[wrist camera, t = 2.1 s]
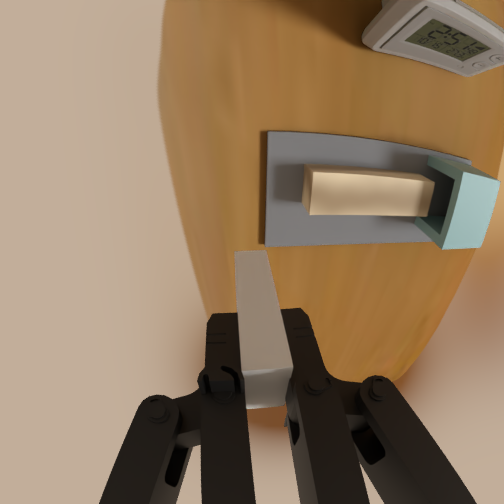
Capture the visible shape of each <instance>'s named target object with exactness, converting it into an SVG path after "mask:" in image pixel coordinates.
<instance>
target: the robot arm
mask: <svg viewBox="0 0 504 504" xmlns="http://www.w3.org/2000/svg"><path fill="white" fill-rule="evenodd" d="M234 252H235V278H236V301H237V313H215V314H212V315H211V317H210V319H209V320H208V322H207V330H206V331H207V332H206V352H205V368H204V369H203V370H202V371H201V372H200V373H199V376H198V380H197V382H198V385H199V388H198V390H196V391H195V392H193V393H191V394H189V395H186V396H183V397H179V398H175V399H171V398H169V397H167V396H165V395H153V396H149V397H148V398H146V399H145V400H143V401H142V403H141V404H140V406H139V407H138V409H137V411H136V414H135V416H134V419H133V421H132V423H131V425H130V428H129V430H128V432H127V435H126V437H125V439H124V442H123V444H122V446H121V449H120V451H119V454H118V456H117V459H116V461H115V464H114V466H113V469H112V471H111V474H110V476H109V479H108V481H107V484H106V487H105V489H104V492H103V494H102V497H101V500H100V502H99V504H176V501H177V498H178V495H179V492H180V488H181V485H182V482H183V478H184V475H185V472H186V468H187V465H188V462H189V459H190V455H191V452H192V448H193V447H194V446H197V445H201V493H202V504H256V500H255V492H254V482H253V472H252V463H251V453H250V443H249V432H248V421H247V410H246V409H253V408H266V407H276V406H284V405H285V401H286V405H287V415H286V418H285V423H284V427H286V426H288V432H289V438H290V444H291V450H292V456H293V462H294V468H295V474H296V480H297V485H298V491H299V498H300V503H301V504H370V503H369V498H368V494H367V491H366V486H365V482H364V478H363V475H362V471H361V467H360V464H361V465H362V467H363V468H364V470H365V472H366V474H367V475H368V477H369V479H370V480H371V482H372V484H373V485H374V487H375V489H376V490H377V492H378V494H379V495H380V497H381V499H382V500H383V502H384V504H477V503H476V502H475V500H474V499H473V497H472V495H471V494H470V492H469V491H468V489H467V488H466V486H465V485H464V483H463V482H462V480H461V478H460V477H459V475H458V474H457V472H456V471H455V470H454V468H453V467H452V465H451V463H450V462H449V461H448V459H447V458H446V456H445V455H444V453H443V452H442V450H441V449H440V447H439V446H438V445H437V443H436V442H435V440H434V439H433V438H432V436H431V435H430V433H429V432H428V430H427V429H426V428H425V426H424V425H423V423H422V422H421V421H420V419H419V418H418V416H417V415H416V414H415V412H414V411H413V410H412V408H411V407H410V406H409V404H408V403H407V401H406V400H405V399H404V397H403V396H402V395H401V393H400V392H399V391H398V389H397V388H396V387H395V385H394V384H393V383H392V382H391V381H390V380H389V379H388V378H385V377H383V376H377V375H374V376H371V377H368V378H367V379H365V380H364V381H363V382H362V383H358V382H348V381H342V380H339V379H337V378H334V377H333V376H332V375H330V374H329V372H328V371H327V370H326V368H325V366H324V363H323V360H322V357H321V353H320V350H319V347H318V344H317V341H316V338H315V336H314V332H313V329H312V325H311V322H310V319H309V316H308V315H307V314H306V313H305V312H304V311H303V310H302V309H301V308H293V309H280V306H279V302H278V298H277V293H276V289H275V285H274V281H273V277H272V272H271V268H270V264H269V260H268V256H267V252H266V250H257V251H234ZM359 462H360V463H359Z"/></svg>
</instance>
